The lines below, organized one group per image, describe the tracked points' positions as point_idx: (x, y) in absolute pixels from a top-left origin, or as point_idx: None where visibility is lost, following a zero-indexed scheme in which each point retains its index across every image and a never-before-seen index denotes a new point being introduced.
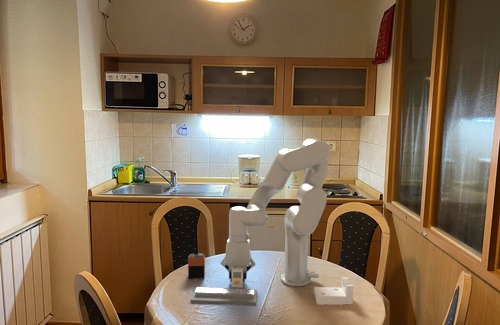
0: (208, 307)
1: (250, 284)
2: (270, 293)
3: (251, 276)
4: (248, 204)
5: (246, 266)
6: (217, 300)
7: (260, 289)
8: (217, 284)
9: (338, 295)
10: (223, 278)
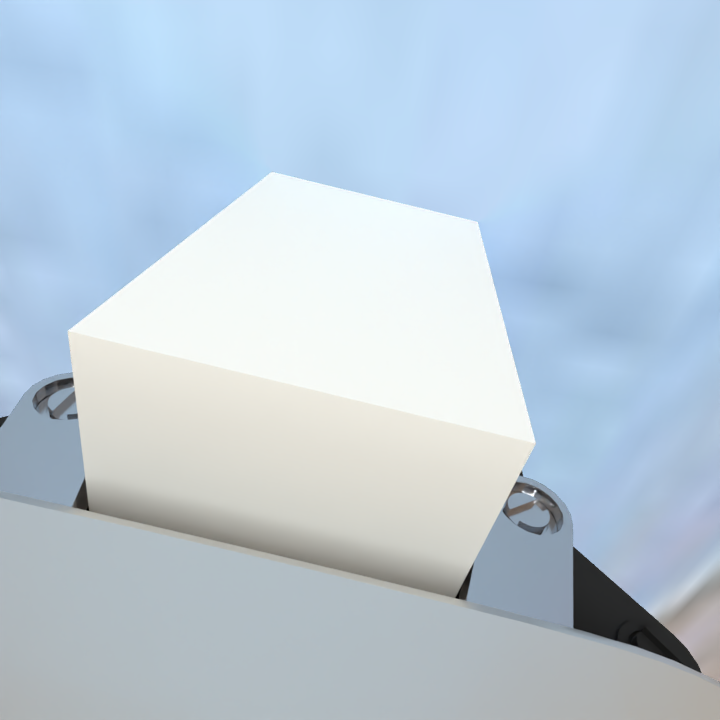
0: None
1: (541, 401)
2: (694, 627)
3: (715, 63)
4: None
5: (544, 615)
6: None
7: (622, 541)
8: (35, 316)
9: None
10: (81, 90)
